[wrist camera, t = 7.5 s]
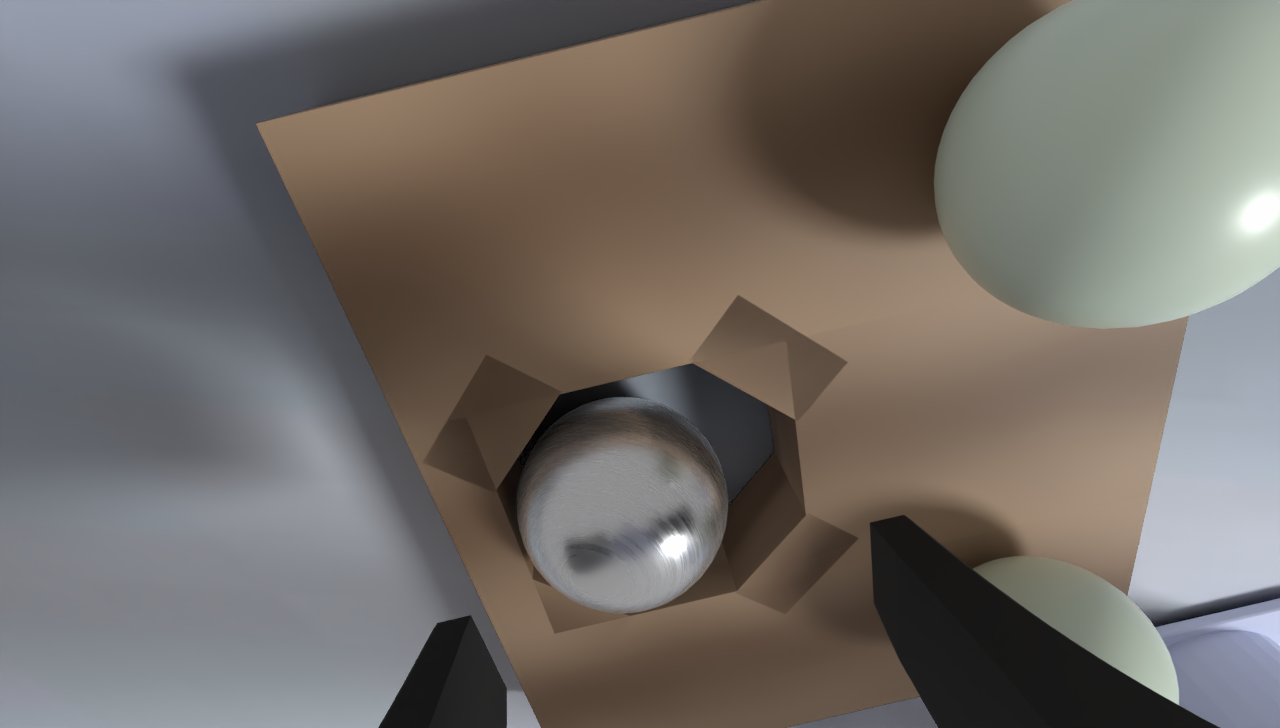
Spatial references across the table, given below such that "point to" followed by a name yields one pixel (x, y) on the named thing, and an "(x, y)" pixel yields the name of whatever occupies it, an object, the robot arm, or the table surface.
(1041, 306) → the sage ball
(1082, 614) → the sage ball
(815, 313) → the brown flat wooden board
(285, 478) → the table surface
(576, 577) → the steel ball
